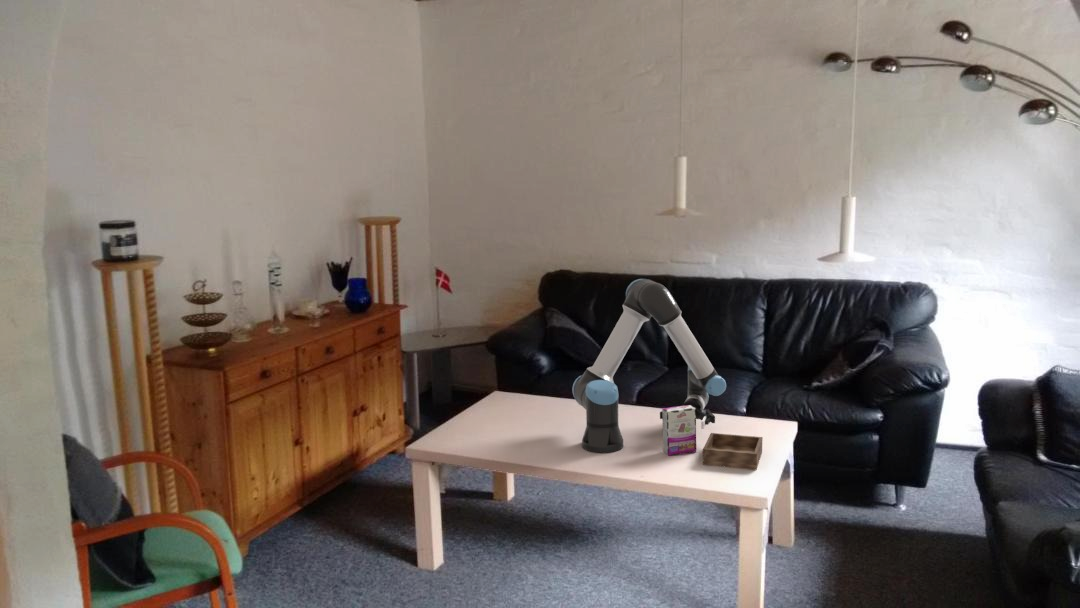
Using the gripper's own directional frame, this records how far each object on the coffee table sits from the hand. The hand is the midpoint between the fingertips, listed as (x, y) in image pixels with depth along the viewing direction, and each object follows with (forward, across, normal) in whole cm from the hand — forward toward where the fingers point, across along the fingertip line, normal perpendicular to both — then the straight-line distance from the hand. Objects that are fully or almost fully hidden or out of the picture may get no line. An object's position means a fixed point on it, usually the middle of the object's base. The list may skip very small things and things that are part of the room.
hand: (683, 423), depth 309 cm
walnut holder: (+5, -18, -10) cm, 21 cm away
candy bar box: (+4, +1, -10) cm, 10 cm away
